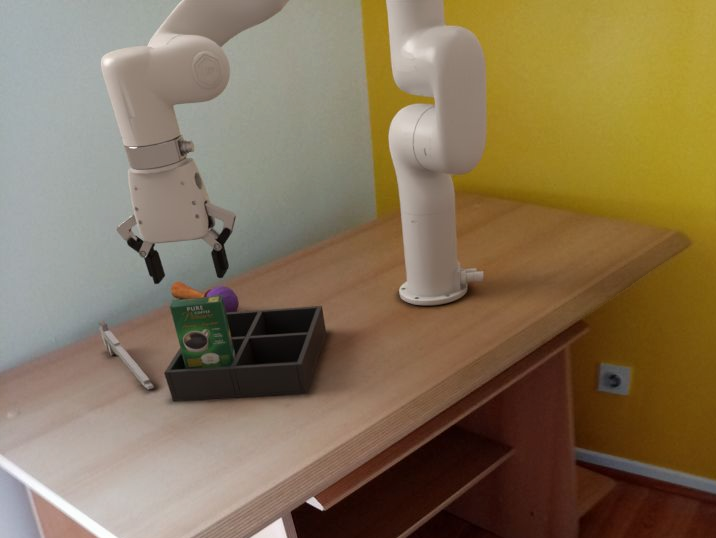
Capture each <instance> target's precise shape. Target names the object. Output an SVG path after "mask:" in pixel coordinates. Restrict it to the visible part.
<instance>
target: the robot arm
mask: <svg viewBox="0 0 716 538" xmlns="http://www.w3.org/2000/svg"><path fill="white" fill-rule="evenodd" d="M289 1H290V0H181V1H180V2H179V3H178V4H177V5H176V6H175V7H174V9H173V10H172V11H171V12H170V13H169V14H168V16H167V17H166V18H165V20H164V21H163V22H162V23H161V25H160V26H158V28H157V30H156V31H155V32H154V34H153V35H152V37H151V38H150V39H149V41H148V43H147V45H137V46H128V47H124V48H118V49H115V50H112V51H109V52H107V53H105V54H104V55H103V56H102V57H101V60H100V70H101V73H102V77H103V81H104V84H105V87H106V90H107V94H108V97H109V100H110V103H111V107H112V111H113V114H114V117H115V121H116V124H117V127H118V130H119V133H120V137H121V140H122V144H123V147H124V150H125V153H126V157H127V159H128V163H129V169H127V180H128V188H129V195H130V201H131V206H132V211H133V213H132V214H131V215H130V216H129V217H127V218H126V219H125V220H124V221H122V222H121V223H120V224H119V225H118V226H116V232H117V233H118V234H119V235H120V237H121V238H122V239H123V241H125V242H126V244H127V246H128V247H130V248H131V249H133V250H134V251H135V252H136V253H138V255H139V257H140V258H142V259H144V262H145V266H146V268H147V272H148V275H149V277H151V278H152V281H153V283H154V285H159V284H160V283H161V282H162V281H163V279H165V277H166V273H165V270H164V266H163V263H162V260H161V257H160V254H159V251H158V250H157V249H155V247H156V244H166V243H175V242H176V243H177V242H187V241H196V240H201V239H202V240H203V241H205V243H207V244H208V245H209V246H210V247H211V248H212V250H211V252H210V255H211V259H212V263H213V267H214V271H215V275H216V277H217V278H218V279H223V278H224V277H225V275H226V274H227V272H228V270H229V267H230V265H229V260H228V255H227V253H226V248H225V245H226V243H227V241H228V240H229V238H230V236H231V235H232V234H233V230H234V227H235V222H236V218H237V215H236V213H235V212H233V211H231V210H229V209H225V208H223V207H221V206H218V205H215V204H212V203H211V200H210V197H209V193H208V191H207V188H206V185H205V183H204V180H203V177H202V175H201V173H200V171H199V168H198V165H197V164H196V161H195V160H194V158H192V157H187V156H188V154H189V153H193V152H195V145H194V142H193V140H187V139H184V136H183V134H181V131H180V127H179V123H178V119H177V116H176V111H175V107H174V106H176V105H184V104H196V103H197V104H198V103H207V102H210V101H212V100H214V99H216V98H218V97H219V96H220V95H221V94H222V93H223V92H224V91H225V90H226V88H227V86H228V84H229V81H230V75H231V67H230V63H229V59H228V57H227V54H226V53H225V51H224V50H223V48H222V47H223V46H224V45H226V44H227V43H228V42H229V41H230V40H231V39H233V38H234V37H235V36H237V35H239V34H241V33H243V32H244V31H246V30H248V29H250V28H253V27H255V26H258V25H260V24H263V23H264V22H267V21H268V20H270V19H271V18H273V17H274V16H276V15H277V14H278V13H280V12H282V10H283V9H284V7H285V6H287V4H288V3H289ZM385 5H386V11H387V13H386V14H387V24H388V36H389V37H388V39H389V49H390V50H389V51H390V63H391V71H392V77H393V80H394V83H395V85H396V87H398V89H400V90H401V92H404V93H406V94H408V95H412V96H413V95H414V96H419V97H427V98H434V104H432V103H431V104H430V103H412V104H409V105H406V106H404V107H403V108H400V110H398V112H397V113H396V114H395V115H394V116H393V118H392V120H391V122H390V124H389V128H388V147H389V153H390V157H391V161H392V164H393V167H394V172H395V175H396V176H395V177H396V181H397V182H396V183H397V189H398V196H399V197H398V198H399V207H400V219H401V230H402V241H403V242H402V243H403V254H404V264H405V276H406V281H405V282H404V283H403V284H401V285H400V287H399V289H398V290H399V298H400V299H401V300H402V301H404V302H406V303H408V304H410V305H415V306H424V307H425V306H439V305H444V304H448V303H452V302H456V301H457V300H459V299H462V297H464V296H465V295H466V294H467V293H468V289H469V288H468V283H473V284H474V283H484V279H485V278H484V270H479V271H478V270H477V267H472V268H464V267H461V261H460V260H459V256H458V254H459V253H458V238H457V236H458V235H457V233H458V232H457V215H456V213H457V212H456V192H455V186H454V182H453V178H452V176H463V175H466V174H468V173H471V172H472V171H474V170H475V168H477V166H478V165H479V163H480V162H481V160H482V158H483V156H484V153H485V149H486V142H487V122H488V121H487V66H486V58H485V53H484V51H483V47H482V45H481V42H480V41H479V39H478V37H477V36H476V34H474V33H473V32H472V31H471V30H470V29H468V28H467V27H466V28H465V27H463V26H459V25H447V24H446V20H445V19H446V17H445V7H444V0H385ZM216 219H217V220H220V221H222V223H223V226H222V230H221V232H219V231H218V230H217V229H215V226H216ZM135 226H137V229H138V232H139V234H140V237H141V238H140V237H139V236H138V235H135V233H134V232H133V230H132V228H134V227H135Z"/></svg>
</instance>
